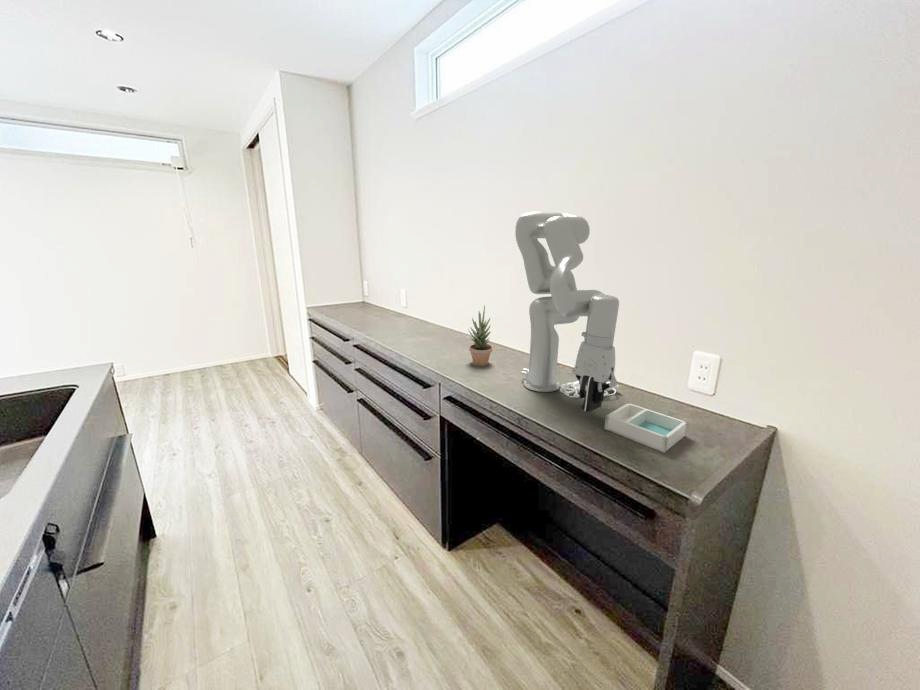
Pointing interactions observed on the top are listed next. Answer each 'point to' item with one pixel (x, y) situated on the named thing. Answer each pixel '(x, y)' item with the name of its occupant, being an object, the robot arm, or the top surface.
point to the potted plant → (480, 342)
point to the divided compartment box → (646, 426)
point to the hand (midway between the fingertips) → (590, 399)
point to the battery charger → (589, 393)
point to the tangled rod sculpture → (577, 389)
